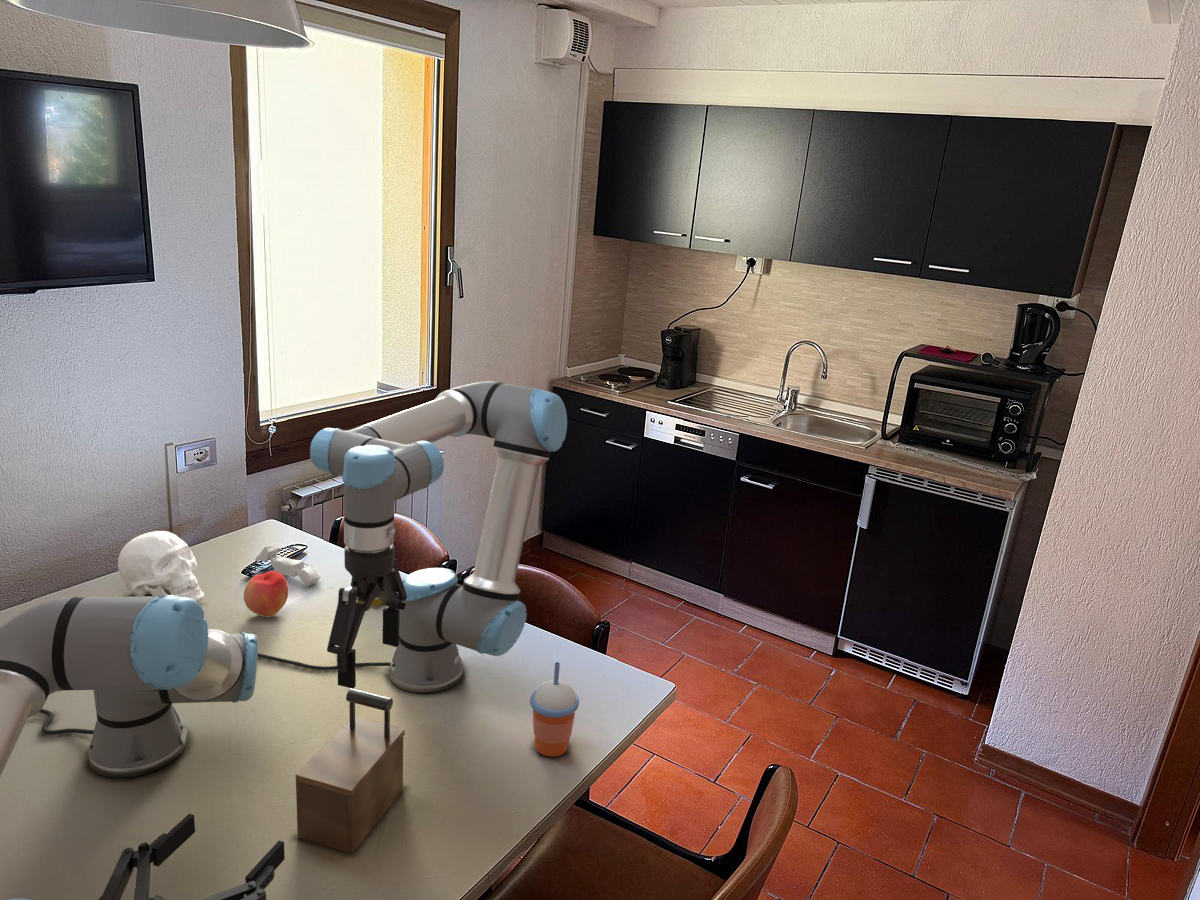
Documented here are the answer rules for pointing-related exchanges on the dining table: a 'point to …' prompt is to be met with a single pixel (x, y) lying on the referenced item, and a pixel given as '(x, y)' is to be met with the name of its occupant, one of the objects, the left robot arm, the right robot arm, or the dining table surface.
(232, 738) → the dining table surface
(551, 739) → the cup with straw
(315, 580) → the white angular piece
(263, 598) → the apple
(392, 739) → the lid
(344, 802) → the chest
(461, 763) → the dining table surface
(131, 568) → the skull
